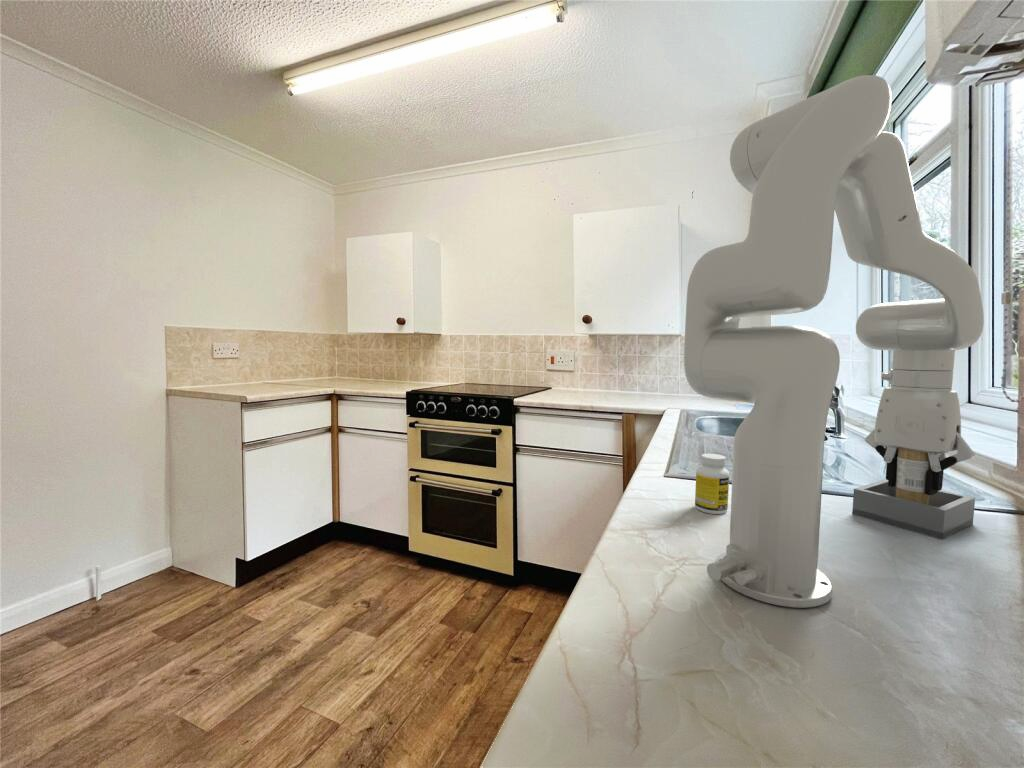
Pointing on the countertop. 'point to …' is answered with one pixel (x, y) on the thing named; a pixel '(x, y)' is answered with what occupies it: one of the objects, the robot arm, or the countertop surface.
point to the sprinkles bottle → (912, 475)
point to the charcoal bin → (914, 510)
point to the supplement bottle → (712, 484)
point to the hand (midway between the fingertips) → (912, 488)
